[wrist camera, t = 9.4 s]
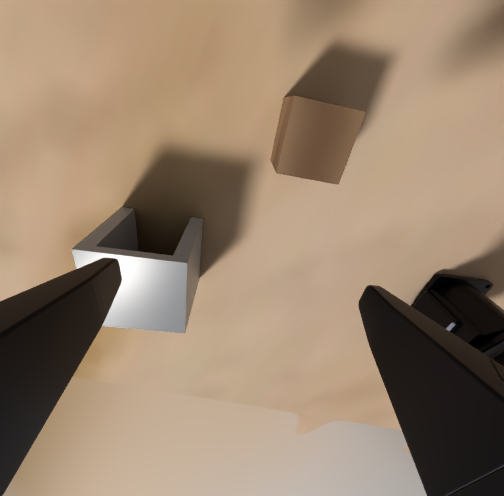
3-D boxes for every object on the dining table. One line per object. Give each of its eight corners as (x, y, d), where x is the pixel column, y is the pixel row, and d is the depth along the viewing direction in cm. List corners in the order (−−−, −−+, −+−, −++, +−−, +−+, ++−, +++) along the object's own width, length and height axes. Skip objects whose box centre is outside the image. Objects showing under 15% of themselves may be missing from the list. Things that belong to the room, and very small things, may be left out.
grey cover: (203, 218, 20) (187, 263, 14) (199, 278, 23) (185, 333, 18) (121, 206, 19) (71, 249, 13) (130, 270, 22) (92, 325, 17)
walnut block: (340, 110, 16) (366, 111, 12) (320, 169, 18) (338, 184, 15) (283, 97, 15) (294, 95, 12) (270, 159, 17) (276, 173, 14)
